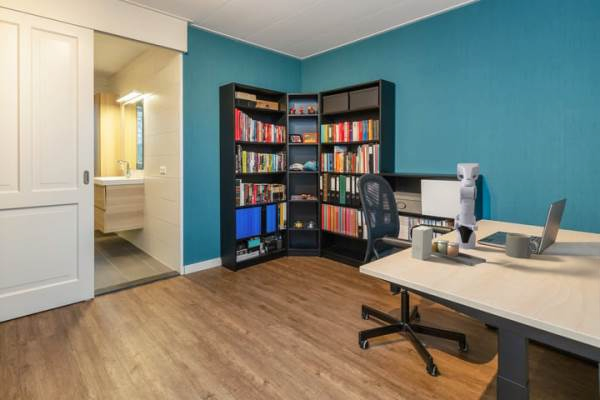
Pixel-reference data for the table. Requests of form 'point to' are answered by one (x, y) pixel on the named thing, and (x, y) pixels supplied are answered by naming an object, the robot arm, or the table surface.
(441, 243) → the jar
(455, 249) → the jar
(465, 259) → the grey rectangular tray
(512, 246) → the coffee mug
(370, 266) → the table surface
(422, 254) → the skincare box
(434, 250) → the pusher
